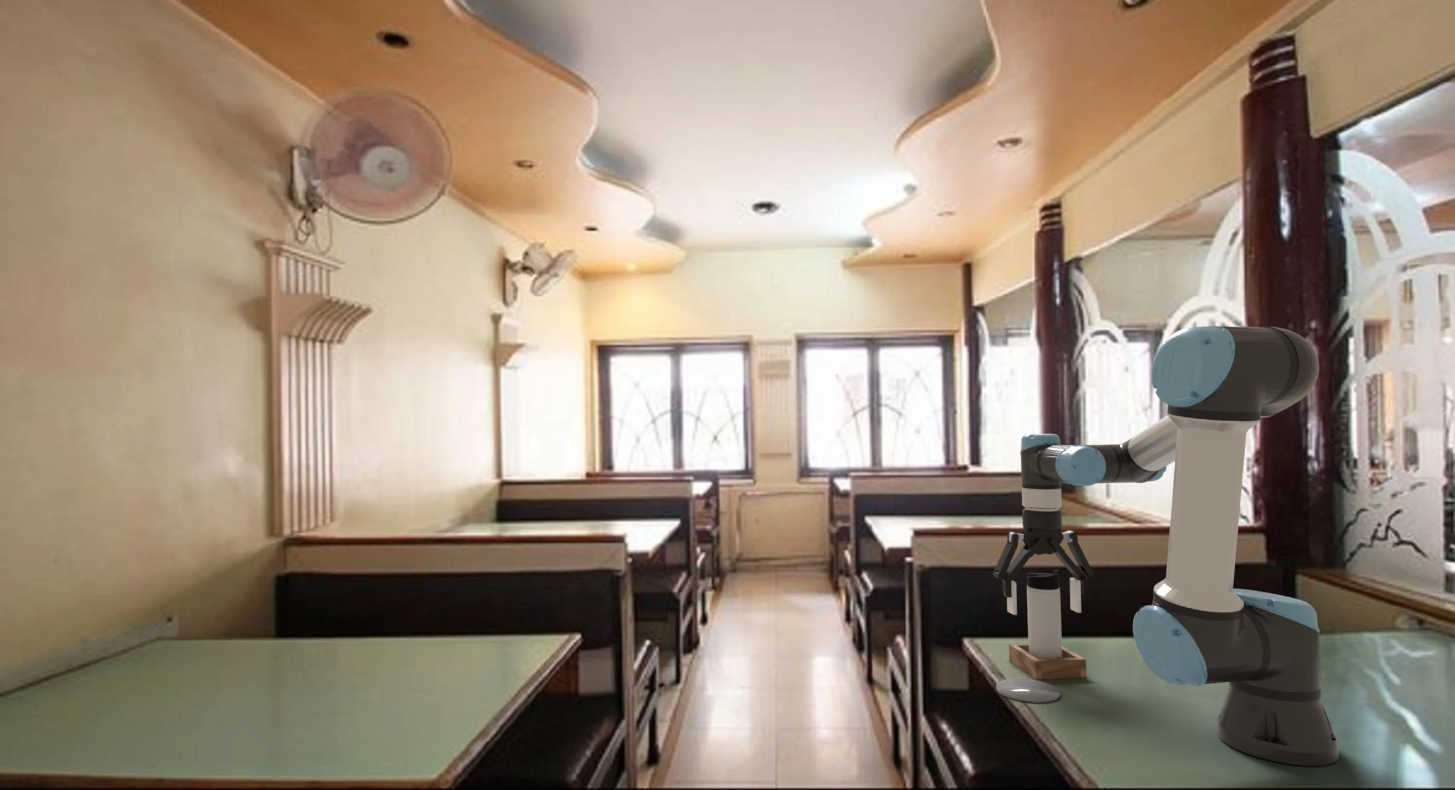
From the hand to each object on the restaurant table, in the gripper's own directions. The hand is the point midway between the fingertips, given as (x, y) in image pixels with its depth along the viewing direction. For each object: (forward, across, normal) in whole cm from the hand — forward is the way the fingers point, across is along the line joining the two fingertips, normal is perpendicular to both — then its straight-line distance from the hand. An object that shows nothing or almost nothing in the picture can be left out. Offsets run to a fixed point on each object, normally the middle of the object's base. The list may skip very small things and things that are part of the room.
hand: (1044, 612), depth 152 cm
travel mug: (+12, 0, 0) cm, 12 cm away
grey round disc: (+11, +10, +12) cm, 20 cm away
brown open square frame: (+11, 0, 0) cm, 11 cm away
